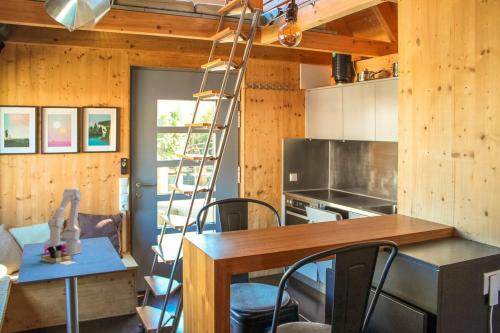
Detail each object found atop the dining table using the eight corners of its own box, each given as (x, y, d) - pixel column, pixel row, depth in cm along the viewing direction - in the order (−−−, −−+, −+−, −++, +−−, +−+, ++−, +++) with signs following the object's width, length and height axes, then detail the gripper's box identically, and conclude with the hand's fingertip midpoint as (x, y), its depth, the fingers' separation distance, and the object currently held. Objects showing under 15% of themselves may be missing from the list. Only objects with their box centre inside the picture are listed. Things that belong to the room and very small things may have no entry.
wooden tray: (59, 256, 295) (59, 252, 295) (72, 259, 287) (72, 255, 287) (41, 260, 284) (41, 256, 284) (54, 263, 276) (54, 259, 276)
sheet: (51, 258, 288) (51, 249, 287) (60, 260, 282) (60, 251, 282) (49, 259, 286) (49, 249, 286) (58, 261, 281) (58, 251, 281)
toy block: (67, 251, 312) (67, 241, 312) (68, 253, 306) (68, 242, 306) (44, 253, 305) (44, 242, 305) (44, 255, 300) (44, 244, 300)
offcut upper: (61, 254, 291) (61, 252, 291) (68, 256, 287) (68, 253, 287) (58, 255, 289) (58, 253, 289) (65, 256, 285) (65, 254, 285)
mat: (71, 260, 284) (71, 260, 284) (79, 262, 280) (79, 261, 280) (58, 263, 277) (58, 262, 277) (66, 265, 273) (66, 264, 273)
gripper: (61, 234, 292) (61, 255, 292) (40, 237, 280) (40, 259, 280) (68, 235, 288) (68, 256, 289) (47, 239, 276) (47, 260, 276)
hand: (55, 257), depth 284 cm, fingers open, 3 cm apart
